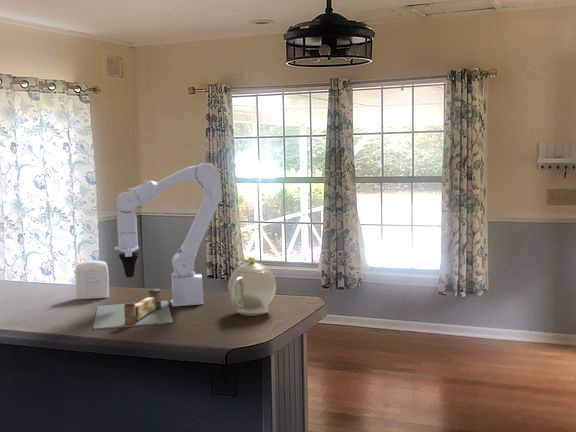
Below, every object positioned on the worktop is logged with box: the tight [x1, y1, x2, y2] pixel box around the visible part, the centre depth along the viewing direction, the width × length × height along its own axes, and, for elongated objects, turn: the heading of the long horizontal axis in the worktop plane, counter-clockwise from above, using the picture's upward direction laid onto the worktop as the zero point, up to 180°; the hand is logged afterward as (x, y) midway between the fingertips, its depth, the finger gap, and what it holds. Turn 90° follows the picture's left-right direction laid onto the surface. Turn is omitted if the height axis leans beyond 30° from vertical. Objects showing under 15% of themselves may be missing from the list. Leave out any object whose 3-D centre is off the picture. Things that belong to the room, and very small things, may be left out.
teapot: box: [228, 256, 277, 317], centre depth 185 cm, size 18×14×16 cm
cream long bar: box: [135, 295, 156, 320], centre depth 184 cm, size 13×2×4 cm, turn 170°
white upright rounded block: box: [75, 259, 110, 300], centre depth 211 cm, size 10×4×12 cm, turn 103°
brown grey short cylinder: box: [148, 288, 162, 310], centre depth 193 cm, size 3×3×6 cm
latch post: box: [124, 301, 136, 325], centre depth 176 cm, size 3×3×6 cm
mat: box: [92, 300, 174, 331], centre depth 188 cm, size 21×27×1 cm
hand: (129, 276), depth 196 cm, fingers closed
